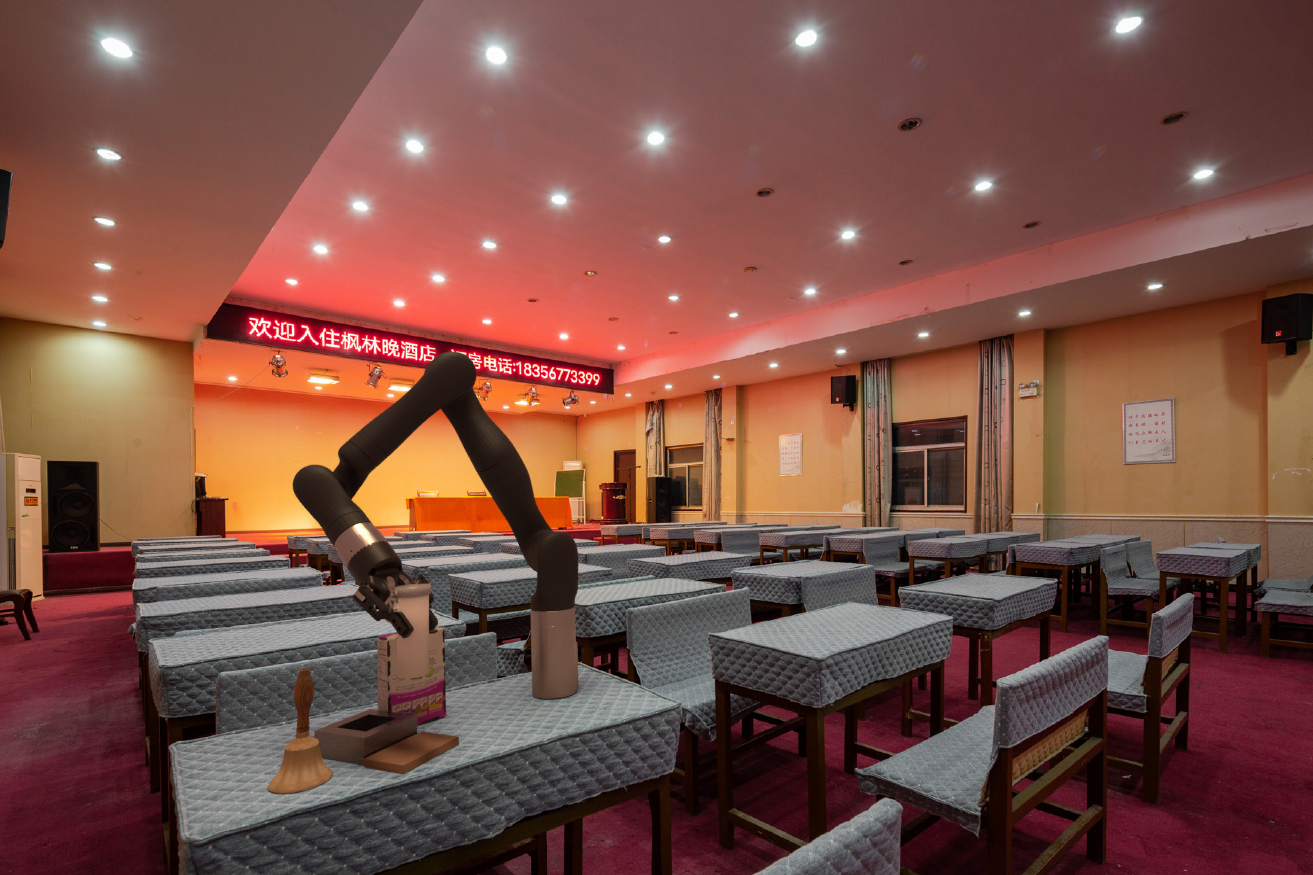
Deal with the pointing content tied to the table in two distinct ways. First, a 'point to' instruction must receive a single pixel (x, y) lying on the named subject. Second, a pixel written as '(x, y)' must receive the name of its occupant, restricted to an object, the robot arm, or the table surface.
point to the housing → (364, 735)
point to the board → (411, 752)
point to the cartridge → (414, 631)
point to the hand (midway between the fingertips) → (421, 630)
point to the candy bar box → (412, 680)
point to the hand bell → (301, 747)
